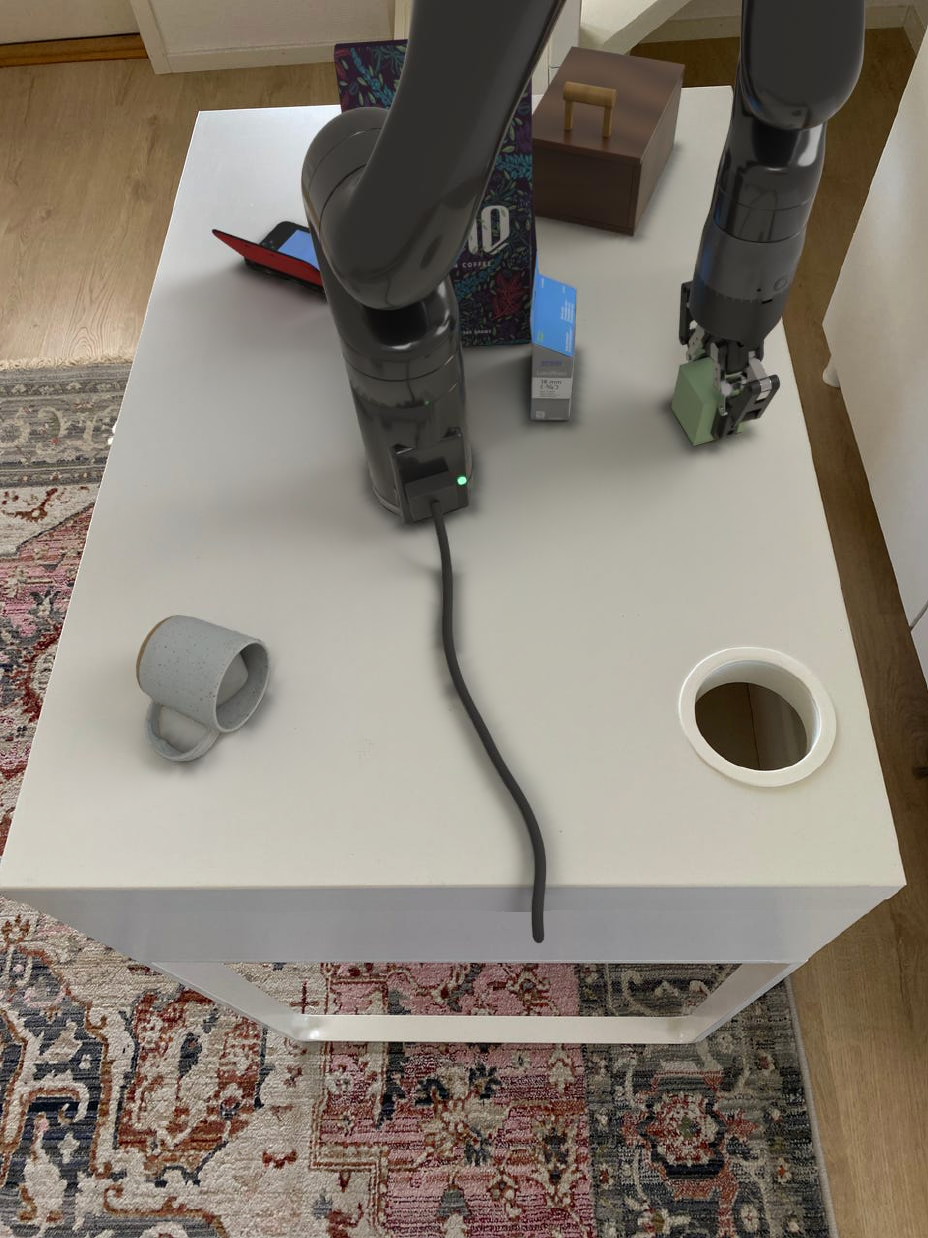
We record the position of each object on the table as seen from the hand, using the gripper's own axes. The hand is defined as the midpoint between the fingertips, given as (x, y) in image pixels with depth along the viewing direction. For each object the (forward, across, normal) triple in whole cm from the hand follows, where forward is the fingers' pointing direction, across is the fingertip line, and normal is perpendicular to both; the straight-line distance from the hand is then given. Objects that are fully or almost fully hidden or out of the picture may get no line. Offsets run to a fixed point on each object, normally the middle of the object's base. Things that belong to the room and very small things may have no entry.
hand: (708, 412), depth 87 cm
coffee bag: (+1, -21, -18) cm, 28 cm away
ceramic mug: (+1, +13, -50) cm, 52 cm away
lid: (-8, -36, +4) cm, 37 cm away
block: (+1, 0, 0) cm, 1 cm away
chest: (+1, -36, +4) cm, 36 cm away
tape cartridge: (+1, -9, -12) cm, 15 cm away
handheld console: (+1, -34, -31) cm, 46 cm away
